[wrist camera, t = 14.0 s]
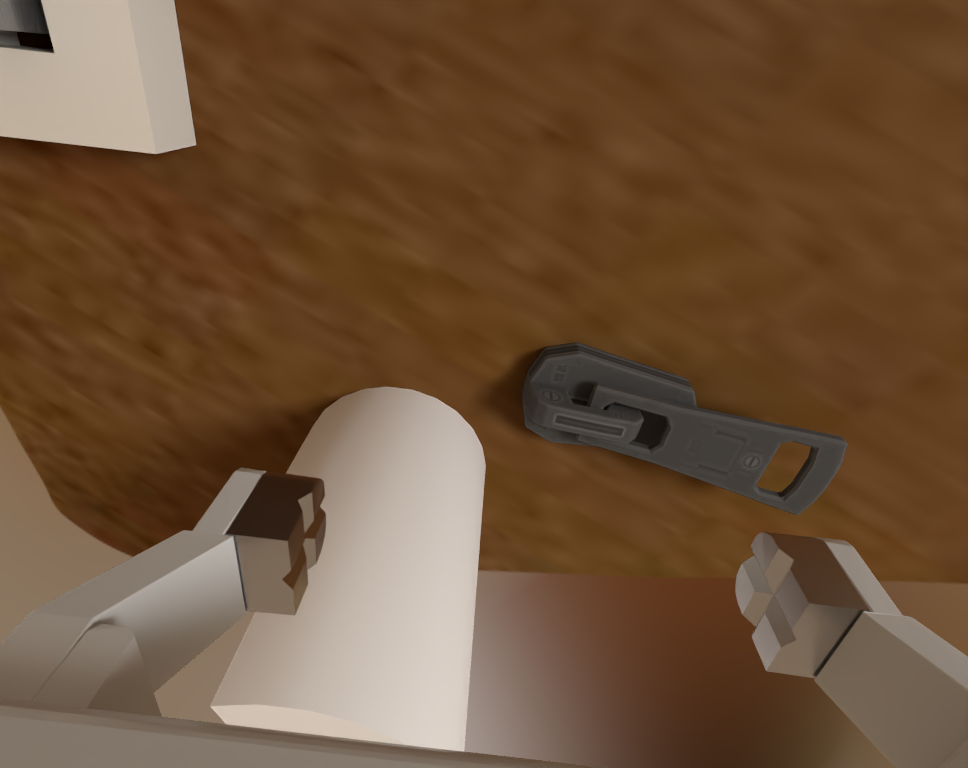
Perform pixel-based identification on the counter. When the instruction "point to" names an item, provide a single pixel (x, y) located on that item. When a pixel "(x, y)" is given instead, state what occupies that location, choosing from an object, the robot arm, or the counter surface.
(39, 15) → the metal bar
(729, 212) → the counter surface
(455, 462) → the cylinder
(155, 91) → the well block
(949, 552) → the counter surface
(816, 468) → the zipper pull
